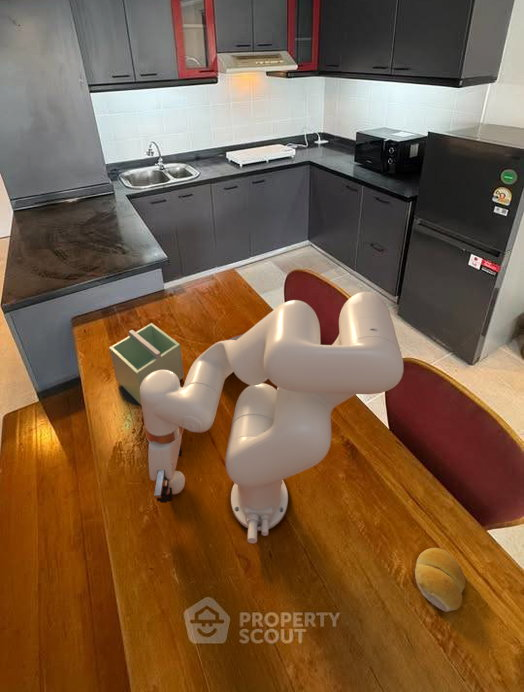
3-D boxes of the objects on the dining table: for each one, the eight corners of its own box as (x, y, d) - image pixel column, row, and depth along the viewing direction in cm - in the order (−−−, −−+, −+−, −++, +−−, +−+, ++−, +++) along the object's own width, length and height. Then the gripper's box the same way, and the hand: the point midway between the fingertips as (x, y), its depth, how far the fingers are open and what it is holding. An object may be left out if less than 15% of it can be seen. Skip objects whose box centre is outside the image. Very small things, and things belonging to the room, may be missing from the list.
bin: (116, 380, 112) (107, 342, 106) (156, 353, 122) (150, 318, 116) (143, 407, 104) (135, 368, 98) (184, 376, 113) (179, 339, 107)
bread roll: (466, 571, 73) (471, 560, 71) (456, 623, 66) (462, 613, 64) (422, 541, 77) (425, 530, 75) (408, 587, 70) (412, 577, 69)
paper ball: (183, 498, 84) (182, 486, 82) (164, 498, 84) (161, 486, 82) (187, 478, 88) (185, 466, 86) (168, 478, 88) (166, 466, 86)
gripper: (157, 389, 85) (163, 439, 92) (132, 467, 69) (142, 519, 77) (190, 390, 85) (194, 440, 92) (173, 468, 69) (179, 520, 77)
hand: (170, 476), depth 84 cm, fingers open, 9 cm apart
